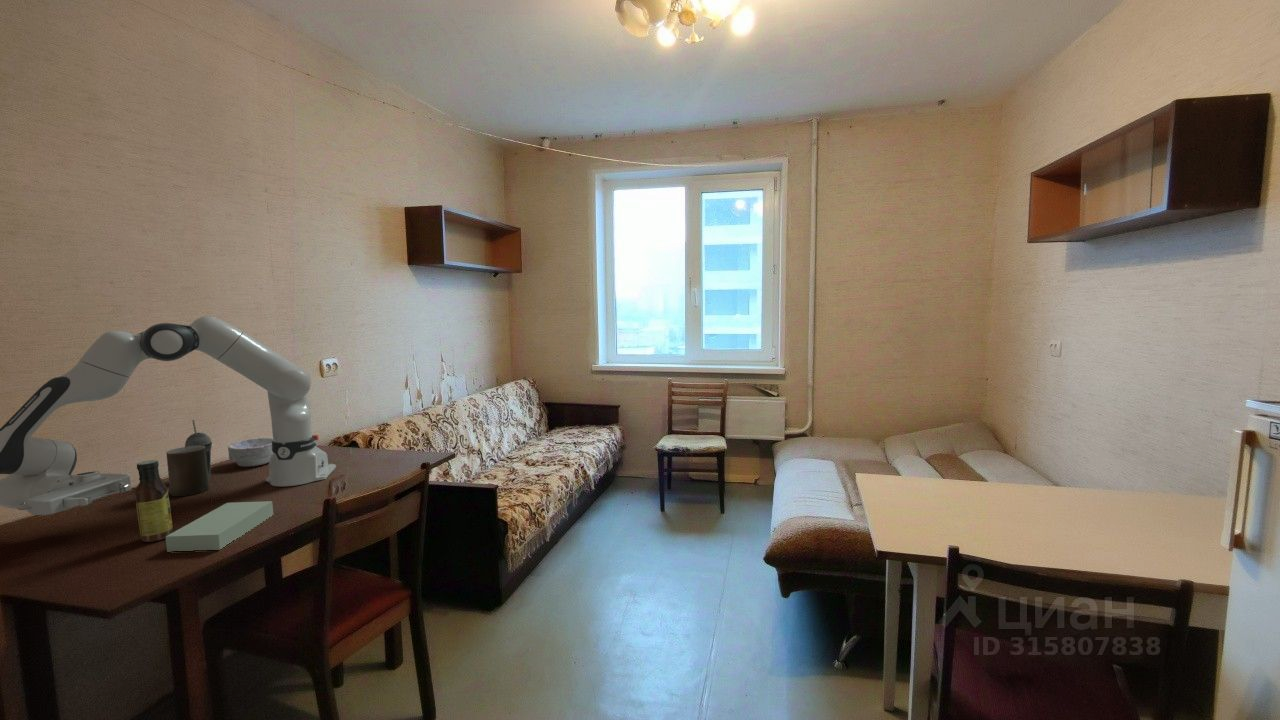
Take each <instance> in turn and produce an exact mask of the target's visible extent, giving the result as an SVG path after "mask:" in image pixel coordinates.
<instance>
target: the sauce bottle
mask: <svg viewBox="0 0 1280 720" xmlns="http://www.w3.org/2000/svg"><path fill="white" fill-rule="evenodd" d="M136 469H137V472H138V477H139V478H138V481H139V483H138V484H137V486H136V489H135V492H134V495H135V506H136V514H137V520H138V528H139V534H140V537H141V541H142V542H144V543H153V542H154V541H155V542H159V541H162V540H166V536H168V535H169V534H171V533H173V519H172V513H171V504H170V502H171V501H170V497H169V490H168V488H167V485H166V484H165V483H164V481H163V479H162V478H161V475H160V471H159V461H158V460H157V459H151V460H144V461H140V462H138V463H136Z"/></svg>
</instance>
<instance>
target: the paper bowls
mask: <svg viewBox="0 0 1280 720" xmlns="http://www.w3.org/2000/svg"><path fill="white" fill-rule="evenodd" d="M272 441H273V437H258V438H257V437H256V438H248V439H244V440H239V441H235V442H233V443H230V444H229V445H228V447H227V451H228V452H227V453H228V459H229V461H232V462H236V464H237V465H238V466H239V467H243V468H248V467H249V468H250V467H251V466H252V467H257V466H261V465H266V464H269V462H270V457H271V456H272V455H273V452H272V446H271V445H272Z"/></svg>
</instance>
